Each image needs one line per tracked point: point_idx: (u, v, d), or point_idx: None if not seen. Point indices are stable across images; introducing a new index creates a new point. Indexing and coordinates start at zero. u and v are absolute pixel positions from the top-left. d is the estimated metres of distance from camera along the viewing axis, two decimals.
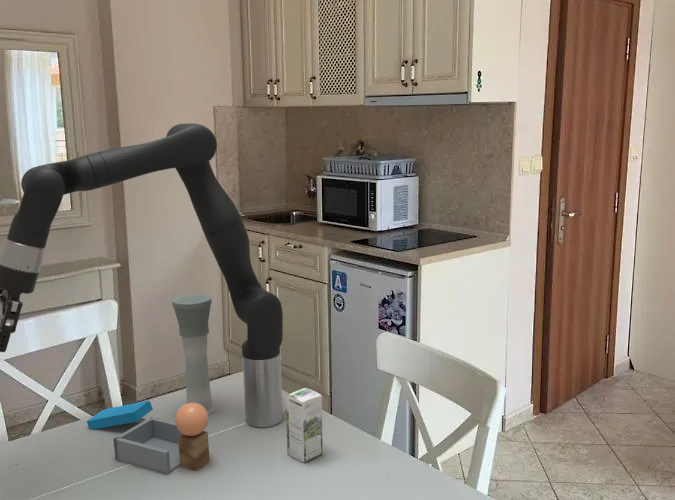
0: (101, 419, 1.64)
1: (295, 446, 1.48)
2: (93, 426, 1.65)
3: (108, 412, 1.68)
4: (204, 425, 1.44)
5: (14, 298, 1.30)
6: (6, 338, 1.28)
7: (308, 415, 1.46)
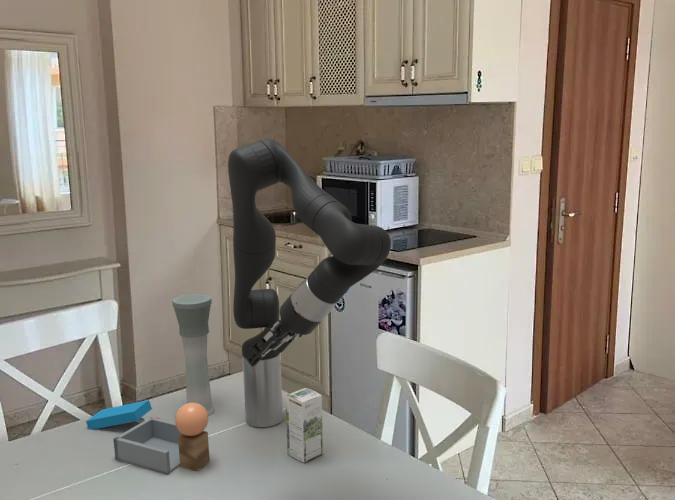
0: (100, 419, 1.64)
1: (295, 446, 1.48)
2: (92, 426, 1.65)
3: (107, 412, 1.68)
4: (204, 425, 1.44)
5: None
6: None
7: (308, 415, 1.46)
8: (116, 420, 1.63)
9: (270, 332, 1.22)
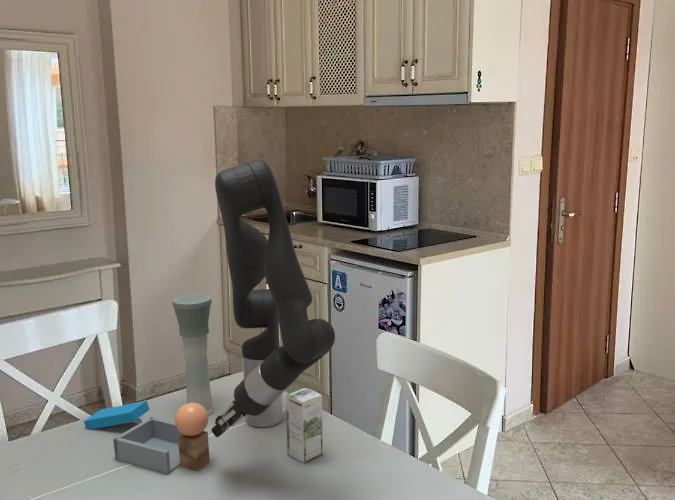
0: (98, 419, 1.64)
1: (295, 446, 1.48)
2: (90, 426, 1.66)
3: (105, 412, 1.68)
4: (204, 425, 1.44)
5: None
6: None
7: (308, 415, 1.46)
8: (113, 420, 1.63)
9: (220, 421, 1.34)
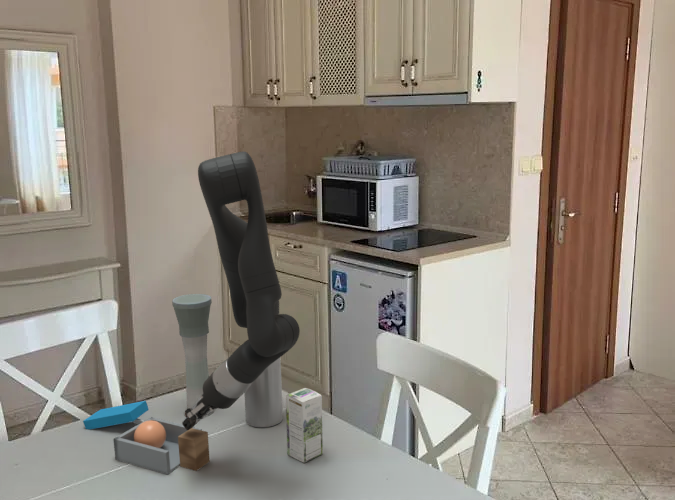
0: (97, 419, 1.64)
1: (295, 446, 1.48)
2: (89, 426, 1.65)
3: (104, 412, 1.68)
4: None
5: None
6: None
7: (308, 415, 1.46)
8: (112, 420, 1.63)
9: (188, 414, 1.38)
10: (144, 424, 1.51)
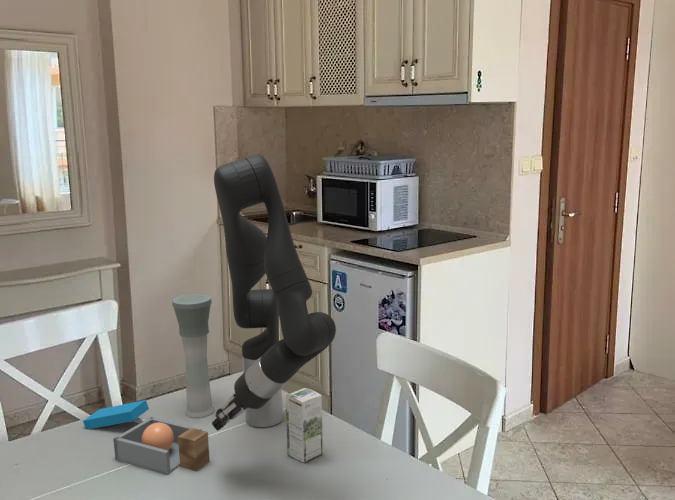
0: (97, 418, 1.65)
1: (295, 446, 1.48)
2: (89, 426, 1.66)
3: (104, 412, 1.68)
4: None
5: None
6: None
7: (308, 415, 1.46)
8: (113, 420, 1.63)
9: (220, 414, 1.34)
10: (159, 431, 1.49)
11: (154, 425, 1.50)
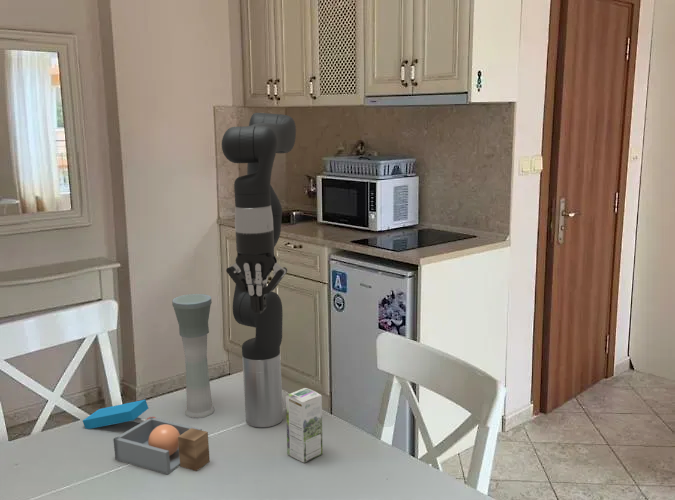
0: (97, 418, 1.65)
1: (295, 446, 1.48)
2: (89, 425, 1.66)
3: (104, 411, 1.68)
4: None
5: (274, 260, 1.35)
6: (265, 298, 1.38)
7: (308, 415, 1.46)
8: (113, 419, 1.63)
9: (229, 267, 1.38)
10: (171, 440, 1.48)
11: (167, 431, 1.48)
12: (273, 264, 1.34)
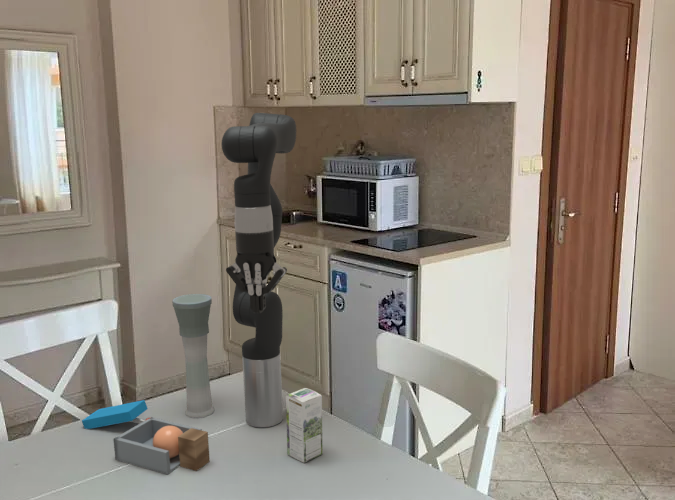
0: (96, 418, 1.65)
1: (295, 446, 1.48)
2: (88, 425, 1.66)
3: (103, 412, 1.68)
4: (161, 428, 1.50)
5: (274, 260, 1.35)
6: (265, 298, 1.38)
7: (308, 415, 1.46)
8: (111, 420, 1.63)
9: None
10: (176, 447, 1.47)
11: (175, 437, 1.48)
12: (273, 264, 1.34)
